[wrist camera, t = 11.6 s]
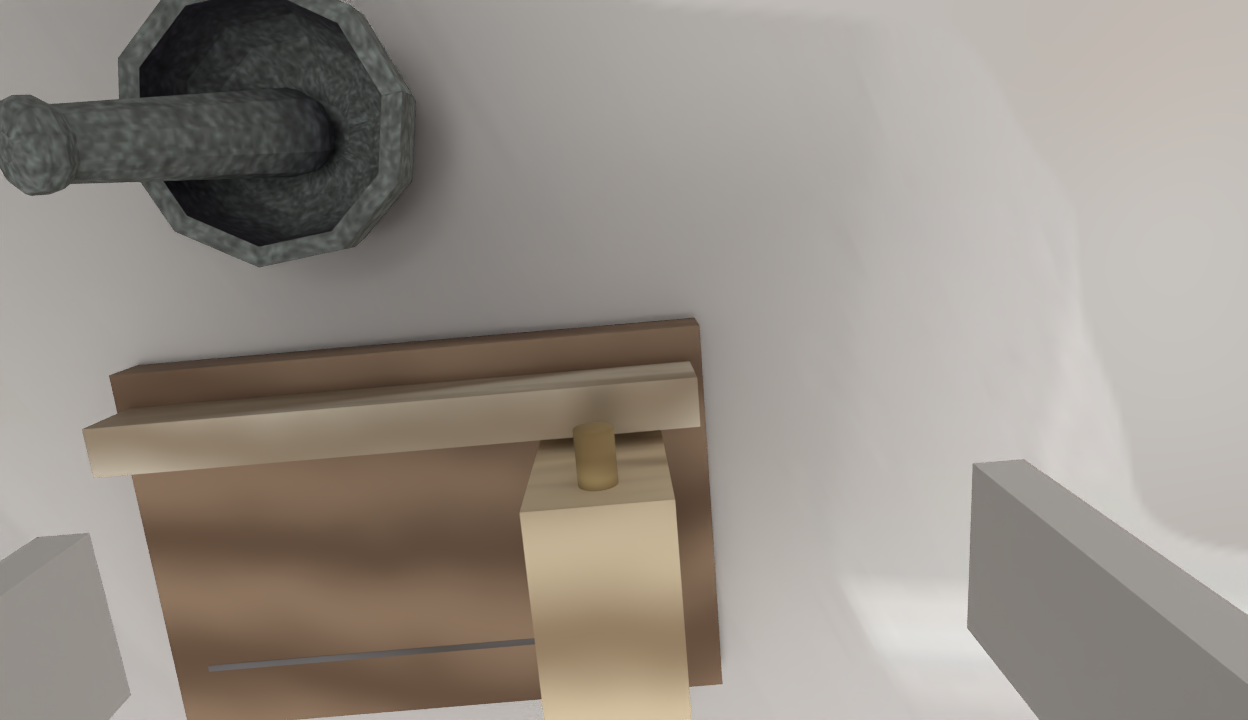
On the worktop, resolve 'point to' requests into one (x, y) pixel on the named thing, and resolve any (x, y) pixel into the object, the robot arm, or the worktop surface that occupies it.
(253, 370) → the walnut board
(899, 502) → the worktop surface
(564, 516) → the marking gauge
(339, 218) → the mortar and pestle
